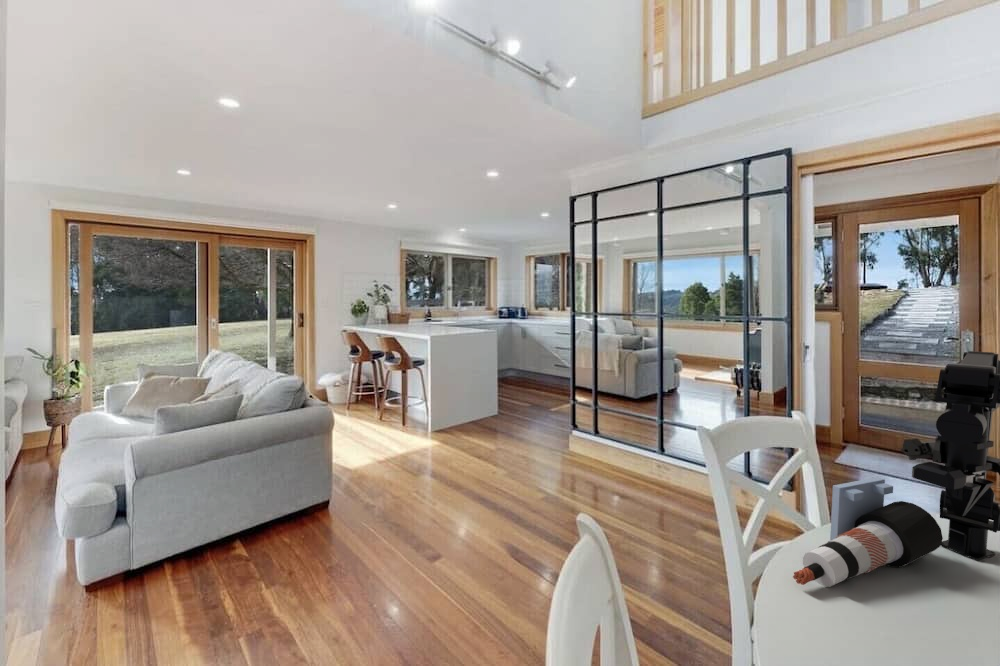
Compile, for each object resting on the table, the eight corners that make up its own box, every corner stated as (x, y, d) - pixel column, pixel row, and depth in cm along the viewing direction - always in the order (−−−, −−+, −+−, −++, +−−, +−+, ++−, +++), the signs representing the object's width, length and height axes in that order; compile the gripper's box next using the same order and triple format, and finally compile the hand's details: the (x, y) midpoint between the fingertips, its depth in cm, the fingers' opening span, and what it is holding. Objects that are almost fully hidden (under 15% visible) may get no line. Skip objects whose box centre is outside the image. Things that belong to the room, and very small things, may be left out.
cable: (788, 605, 86) (764, 548, 89) (900, 551, 98) (875, 502, 101) (838, 613, 77) (809, 549, 80) (954, 552, 89) (924, 499, 92)
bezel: (874, 538, 101) (877, 477, 100) (892, 546, 98) (896, 483, 97) (829, 549, 97) (832, 485, 96) (847, 558, 94) (850, 492, 93)
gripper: (943, 418, 94) (938, 491, 95) (882, 426, 88) (877, 504, 89) (1018, 432, 84) (1011, 514, 85) (955, 443, 78) (949, 531, 79)
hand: (959, 515), depth 85 cm, fingers closed
